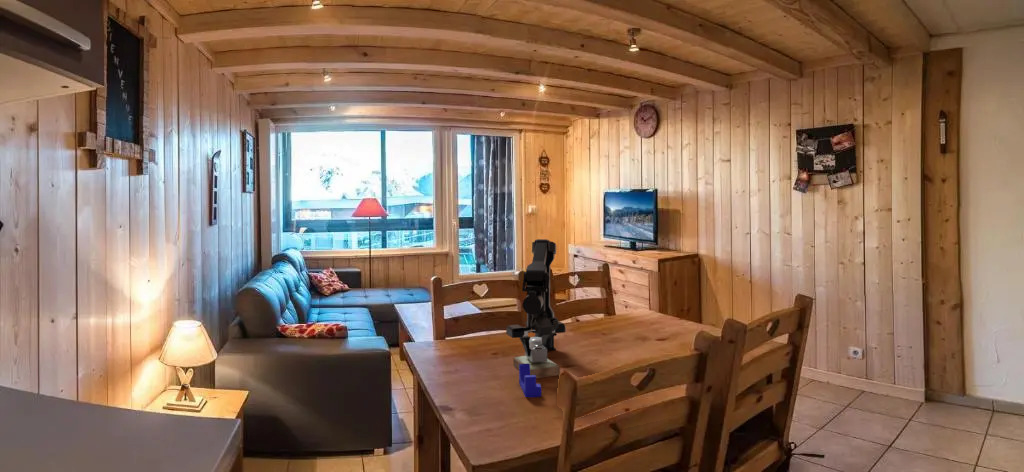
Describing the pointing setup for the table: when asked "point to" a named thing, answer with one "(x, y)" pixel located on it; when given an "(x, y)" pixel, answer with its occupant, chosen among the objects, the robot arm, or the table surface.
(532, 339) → the light grey rounded cylinder
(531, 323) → the robot arm
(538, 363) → the stand
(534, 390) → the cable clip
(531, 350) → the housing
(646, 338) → the table surface
